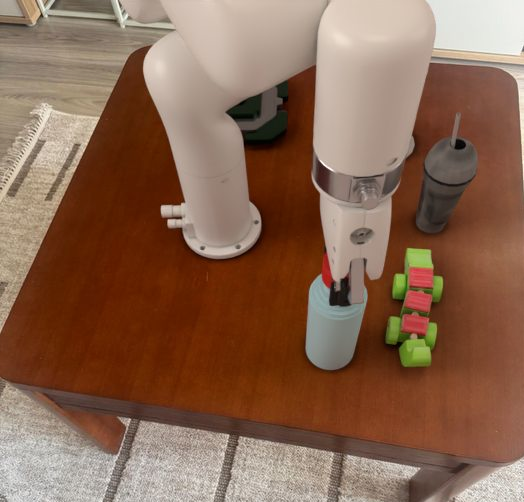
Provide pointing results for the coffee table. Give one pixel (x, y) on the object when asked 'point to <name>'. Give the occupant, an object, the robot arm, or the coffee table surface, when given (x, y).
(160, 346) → the coffee table surface
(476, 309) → the coffee table surface
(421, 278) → the toy crocodile
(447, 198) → the beverage cup
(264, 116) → the four-lobed dark green device
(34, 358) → the coffee table surface
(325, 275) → the cap
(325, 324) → the bottle
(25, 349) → the coffee table surface
